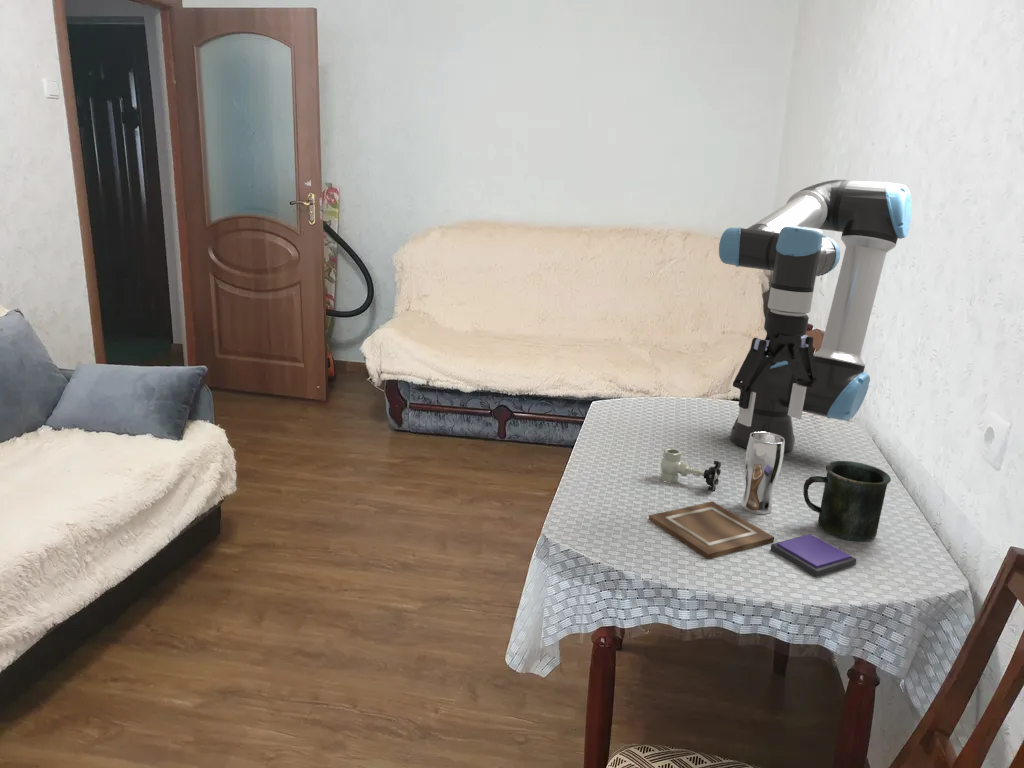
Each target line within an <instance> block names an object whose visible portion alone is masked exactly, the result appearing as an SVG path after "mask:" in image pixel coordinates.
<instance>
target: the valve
mask: <svg viewBox="0 0 1024 768" xmlns="http://www.w3.org/2000/svg"><path fill="white" fill-rule="evenodd" d="M662 457H663V458H662V460H661V461H660V469H661V471H660V479H661V481H662V482H664V481H666V482H665V483H668V482H670V484H673V482H674V483H677V482H679V474H680V476H683V477H687V476H688V475H692V476H694V477H698V478H699V477H700V476H702V477H703V479H705V482H706V484H707V485H708V487H707V490H708V491H711V492H716V490H717V485H719V482H720V481H719V476H720V475H721V473H722V470H721V467H722V462H721V461H717V460H714V461H713V465H714V466H711V467H709V468H708V469H705V470H702V469H701V467H695V466H691V465H690V462H687V461H683V462H681V459H682V453H681V451H680V450H679V449H677V448H672V447H671V448H670V447H669V448H665V449H663V456H662Z"/></svg>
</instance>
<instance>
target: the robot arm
mask: <svg viewBox="0 0 1024 768" xmlns="http://www.w3.org/2000/svg"><path fill="white" fill-rule="evenodd" d="M911 218H912V196H911V191H910V190H909V188H908V186H906V185H905V184H902V183H893V182H889V181H866V180H865V181H863V180H850V179H849V180H847V179H833V180H832V179H831V180H826V181H821V182H819V183H815V184H813V185H810V186H807V187H805V188H803V189H800V190H799V191H797V192H795V193H793V194H792V195H791V196H790V197H789V198H788V200H787V201H786V204H784V205H782V206H781V207H779V208H778V209H776V210H774V211H773V212H771V213H770V214H768V215H767V216H764V218H762V219H760V220H759V221H757V222H755V223H754V224H752V225H750V226H749V227H748V228H744V227H740V226H739V227H728V228H726V229H725V230H724V232H723V233H722V234H721V237H720V241H719V243H718V245H719V246H718V257H719V259H720V261H721V262H722V263H723V264H725V265H729V266H730V265H731V266H735V267H736V268H738V267H741V268H748V269H754V270H755V269H757V270H763V271H764V270H765V271H770V272H771V271H772V277H771V283H770V291H769V297H768V302H767V308H768V310H767V311H766V312H765V313H766V314H765V318H764V319H765V320H764V324H763V328H764V331H766V336H765V339H762V338H758V337H753V339H752V340H751V343H750V344H751V345H750V348H749V351H748V353H747V355H746V356H745V358H744V361H743V362H742V365H741V367H740V368H739V370H738V372H737V374H736V375H735V378H734V380H733V382H732V387H733V388H736V389H739V390H740V393H739V398H738V399H739V400H738V407H739V409H738V416H737V418H736V419H735V422H734V423H733V426H732V427H731V430H730V434H729V438H730V441H731V442H732V443H734V444H735V445H737V446H739V447H741V448H744V449H746V450H747V446H748V442H749V438H750V434H751V433H753V432H769V433H774V434H777V435H780V436H782V437H783V438H784V439H785V444H784V454H786V453H789V452H792V451H793V450H794V448H795V443H796V437H795V434H794V428H793V421H792V420H793V419H792V418H795V419H796V420H801V419H802V415H803V412H804V413H808V414H813V415H816V416H821V417H823V418H827V419H833V420H839V421H850V420H851V419H853V418H854V417H855V416H856V415H857V413H858V412H859V410H860V408H861V407H862V404H863V402H864V401H865V398H866V395H867V393H868V391H869V387H870V386H869V385H870V381H871V376H870V375H869V373H867V372H865V368H866V364H865V363H864V361H863V360H862V359H863V358H861V353H862V351H863V345H864V342H865V339H866V334H867V330H868V327H869V323H870V318H871V315H872V311H873V307H874V304H875V299H876V296H877V291H878V287H879V284H880V279H881V275H882V271H883V267H884V264H885V259H886V256H887V253H888V252H890V251H891V250H892V249H894V248H895V247H896V245H897V243H898V239H899V240H902V239H905V238H906V237H907V235H908V232H909V230H910V226H911ZM823 230H824V231H832V232H839V233H840V232H841V235H840V236H841V237H840V240H841V241H842V243H843V244H844V246H845V249H844V254H843V258H842V262H841V266H840V270H839V274H838V278H837V282H836V286H835V289H834V294H833V298H832V302H831V306H830V309H829V315H828V318H827V322H826V324H825V325H826V326H825V330H824V334H823V338H822V342H821V344H820V345H821V346H820V348H819V350H817V351H815V352H814V350H813V344H814V338H813V336H810V335H806V334H807V331H808V330H807V329H808V323H809V318H810V316H808V314H809V313H810V312H811V310H812V308H811V307H812V302H813V297H814V289H815V283H816V279H817V277H820V276H824V275H826V274H828V273H830V272H831V271H832V270H834V269H835V268H836V267H837V266H838V264H839V262H840V259H841V250H840V247H839V245H838V243H837V242H836V240H835V239H833V238H831V237H828V236H825V235H824V234H823Z"/></svg>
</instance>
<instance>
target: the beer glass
mask: <svg viewBox="0 0 1024 768" xmlns="http://www.w3.org/2000/svg"><path fill="white" fill-rule="evenodd" d="M784 444H785V439H784V438H783V437H782V436H780V435H777V434H774V433H769V432H753V433H751V434H750V438H749V442H748V446H747V449H746V451H745V457H744V458H745V459H744V478H745V480H744V481H745V483H744V484H745V485H744V491H743V495H742V497H741V501H740V503H739V504H740V507H741V508H742V510H745V511H747V512H748V513H751V514H757V515H767V514H771V512H772V510H773V493H774V490H775V489H774V488H775V486H776V484H777V481H778V478H779V476H780V473H781V470H782V467H783V466H782V465H783V462H784V461H783V460H784V454H785V453H784Z"/></svg>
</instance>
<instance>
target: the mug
mask: <svg viewBox="0 0 1024 768" xmlns="http://www.w3.org/2000/svg"><path fill="white" fill-rule="evenodd" d="M825 470H826V475H825V476H822V475H814V476H809V477H808V478H807V479H805V482H804V484H803V499H804V502H805V503H806V506H807V507H808V508H809V509H811V510H812V511H814V512H816V513H817V514H818V520H817V523H818V525H819V527H820V528H821V530H823V531H825V532H826V533H827V534H829V535H831V536H834V537H836V538H840V539H842V540H847V541H852V542H866V541H870V540H872V539H874V538H875V537H876V536H877V533H878V529H879V525H880V519H881V516H882V510H883V507H884V506H883V505H884V500H885V498H886V497H885V496H886V492H887V487H888V485H889V484H890V482H891V480H892V478H891V476H890V474H888V473H887V472H886V471H884V470H882V469H881V468H878V467H875V466H873V465H869V464H867V463H862V462H857V461H851V460H850V461H848V460H838V461H837V460H835V461H831V462H828V463H826V465H825ZM813 483H814V484H815V483H823V484H824V488H823V494H822V498H821V503H820V506H818V505H816V504H814V503H813V502H812V501H811V499H810V497H809V488H810V485H812V484H813Z"/></svg>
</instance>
